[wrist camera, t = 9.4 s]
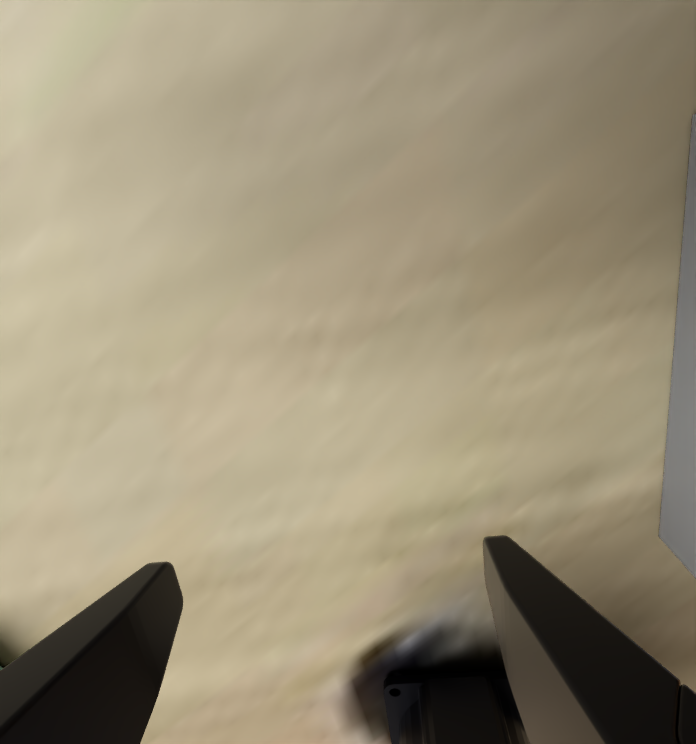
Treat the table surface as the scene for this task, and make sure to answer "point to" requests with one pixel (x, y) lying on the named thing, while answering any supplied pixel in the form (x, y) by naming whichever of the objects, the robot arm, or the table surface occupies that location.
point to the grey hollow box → (683, 397)
